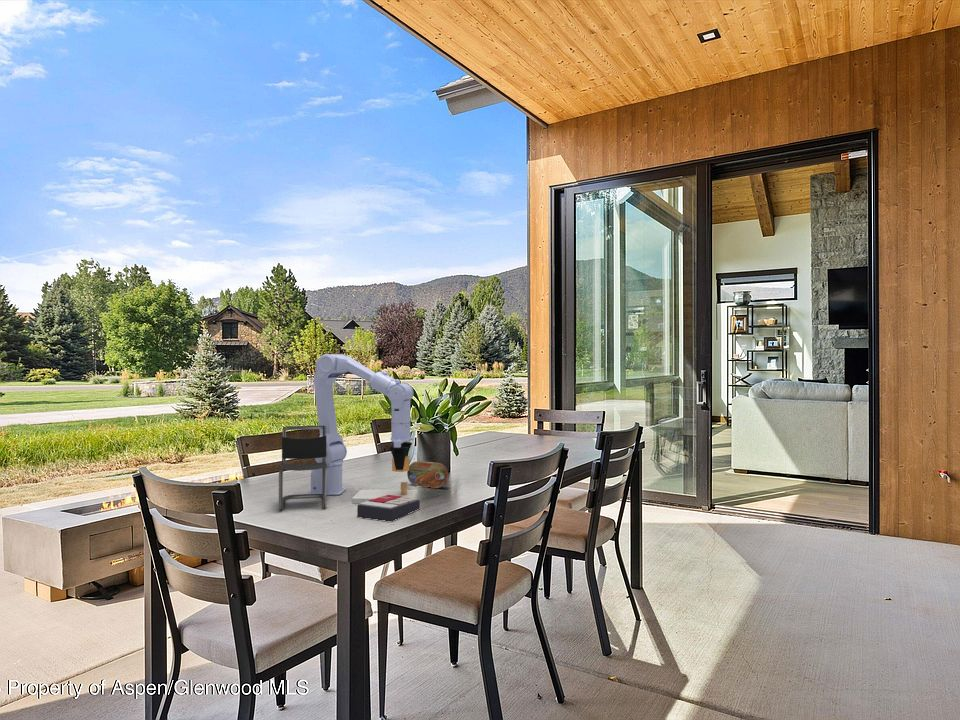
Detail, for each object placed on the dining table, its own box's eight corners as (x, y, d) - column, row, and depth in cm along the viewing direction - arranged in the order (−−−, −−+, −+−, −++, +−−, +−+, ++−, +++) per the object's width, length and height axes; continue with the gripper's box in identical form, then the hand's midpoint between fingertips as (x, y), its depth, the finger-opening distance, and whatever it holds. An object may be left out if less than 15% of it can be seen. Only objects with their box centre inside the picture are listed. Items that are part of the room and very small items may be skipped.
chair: (326, 496, 187) (326, 425, 187) (326, 510, 170) (326, 432, 170) (282, 498, 183) (282, 426, 183) (278, 512, 167) (278, 433, 166)
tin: (406, 485, 203) (406, 460, 203) (411, 483, 206) (412, 459, 206) (444, 490, 196) (444, 464, 196) (449, 488, 199) (449, 462, 199)
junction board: (351, 503, 177) (351, 486, 177) (360, 494, 189) (360, 478, 189) (412, 504, 177) (412, 487, 177) (417, 494, 189) (417, 478, 189)
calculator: (420, 497, 171) (391, 506, 158) (420, 512, 171) (390, 522, 157) (388, 493, 176) (356, 501, 162) (387, 508, 176) (356, 518, 162)
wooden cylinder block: (391, 471, 180) (391, 458, 180) (393, 468, 185) (393, 455, 185) (407, 471, 180) (407, 458, 180) (410, 468, 185) (410, 455, 185)
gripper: (410, 425, 175) (410, 472, 175) (416, 420, 190) (417, 463, 190) (386, 425, 176) (386, 472, 176) (394, 420, 190) (394, 463, 190)
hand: (400, 467), depth 183 cm, fingers closed on wooden cylinder block, 5 cm apart
